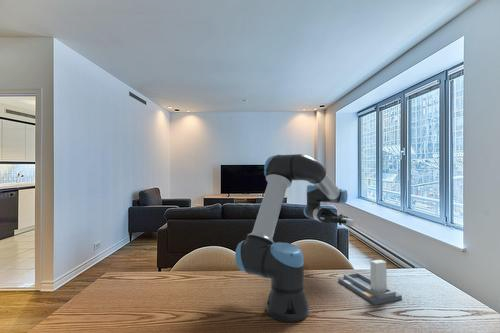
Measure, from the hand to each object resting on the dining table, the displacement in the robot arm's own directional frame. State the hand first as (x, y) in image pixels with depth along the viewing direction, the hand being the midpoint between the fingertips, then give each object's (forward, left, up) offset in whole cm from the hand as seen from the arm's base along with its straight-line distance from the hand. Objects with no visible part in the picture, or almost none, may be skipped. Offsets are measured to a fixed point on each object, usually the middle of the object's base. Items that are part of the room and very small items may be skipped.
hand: (352, 223), depth 124 cm
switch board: (+8, -5, -26) cm, 28 cm away
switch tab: (+14, -8, -24) cm, 29 cm away
